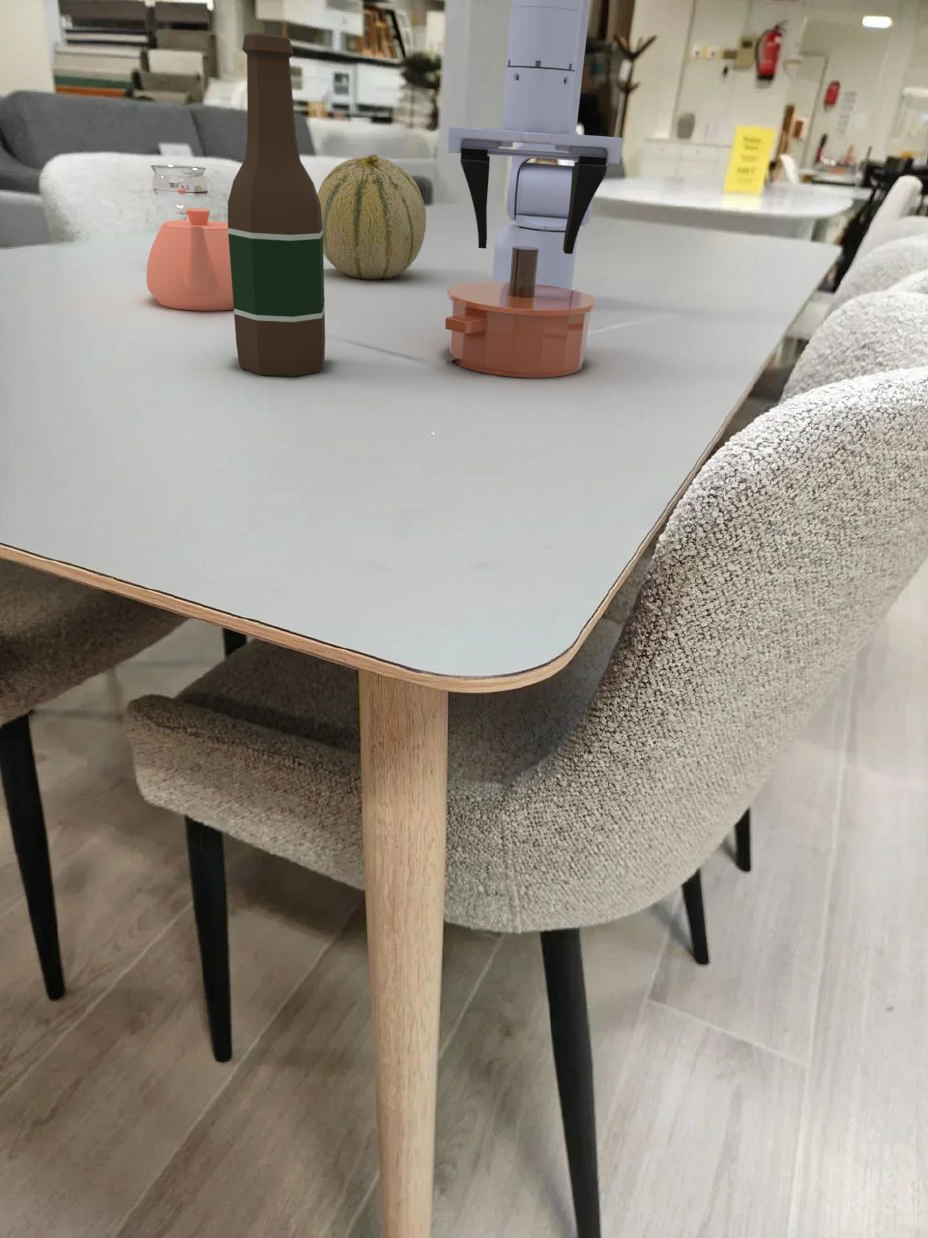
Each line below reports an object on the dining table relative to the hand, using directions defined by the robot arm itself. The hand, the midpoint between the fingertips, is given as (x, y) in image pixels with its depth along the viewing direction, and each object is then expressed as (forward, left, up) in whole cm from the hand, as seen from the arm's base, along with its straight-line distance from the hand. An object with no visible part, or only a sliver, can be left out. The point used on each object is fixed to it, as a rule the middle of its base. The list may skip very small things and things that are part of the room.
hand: (525, 249), depth 77 cm
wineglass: (-57, +2, -10) cm, 58 cm away
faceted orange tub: (0, 0, -10) cm, 10 cm away
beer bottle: (-11, -19, -10) cm, 24 cm away
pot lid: (0, 0, -4) cm, 4 cm away
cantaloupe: (-39, +18, -10) cm, 44 cm away
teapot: (-37, -9, -10) cm, 39 cm away
